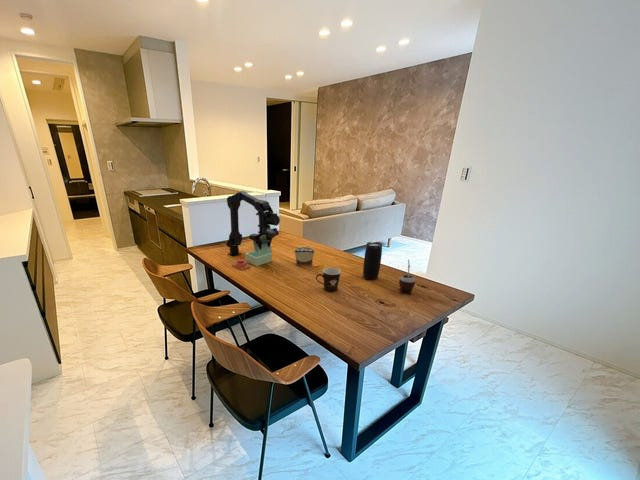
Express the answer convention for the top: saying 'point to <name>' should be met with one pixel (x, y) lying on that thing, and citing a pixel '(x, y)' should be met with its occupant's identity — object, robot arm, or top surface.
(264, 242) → the machine lid
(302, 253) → the food container
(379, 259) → the portable speaker
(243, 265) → the button block
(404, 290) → the mate gourd
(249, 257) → the machine
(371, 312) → the top surface
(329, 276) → the coffee mug
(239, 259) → the button
